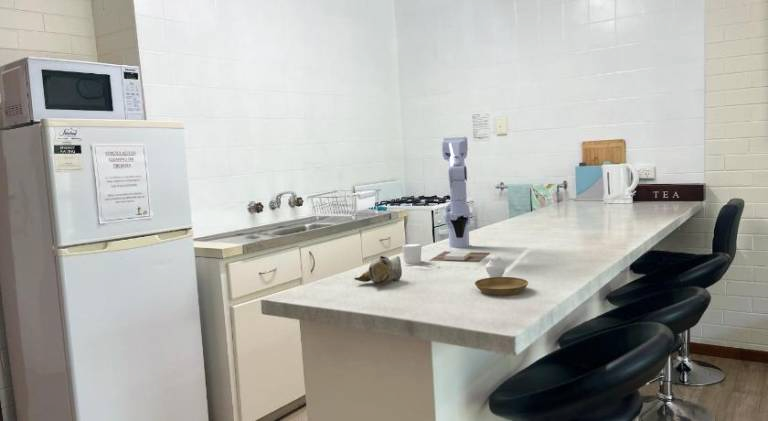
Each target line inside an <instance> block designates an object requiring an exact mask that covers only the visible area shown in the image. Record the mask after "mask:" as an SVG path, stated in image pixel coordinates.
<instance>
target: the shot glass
mask: <svg viewBox="0 0 768 421" xmlns="http://www.w3.org/2000/svg"><path fill="white" fill-rule="evenodd" d="M422 245H423V244H421V243H406V244H402V245H401V247H402V248H401V249H402V254H403V262H404V264H407V265H405V267H412V265H411V264H420V263H421V262H422ZM409 264H410V265H409Z"/></svg>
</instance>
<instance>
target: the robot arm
mask: <svg viewBox="0 0 768 421" xmlns="http://www.w3.org/2000/svg"><path fill="white" fill-rule="evenodd" d="M441 148H442V150H441V151H442V157H443V160H445V161H447V162H448V170H447V172H448V176H447V177H448V183H449V188H450V189H449V197H450V198H449V199H450V202H449V203H447V204H445V207H444V221H445V222H444V224H445V226H446V227H448V244H449V245H448V246H449V248H452V249H459V248H460V249H461V248H466V247H472V244H470V231H469V228H468V226H469V225H470V224H471V211H470V206H469V205H468V203H467V202H468V201H467V200H468V199H467V183H466V182H467V181H468V169H467V165H466V164H465V159H467V156H468V150H469V148H468V137H467V136H458V137H457V136H456V137H442V139H441Z"/></svg>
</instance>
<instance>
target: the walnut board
mask: <svg viewBox="0 0 768 421" xmlns="http://www.w3.org/2000/svg"><path fill="white" fill-rule="evenodd" d="M450 252H451V251H446V250H445V251H443V252H441V253H439V254H438V255H436V256H434V257H432V258H431V259H429V260H428V261H429V262H451V261H450V260H445V255H447V254H448V253H450ZM470 252H471V256H470V257H469V258H467V259H466V260H464V261H452V262H456V263H459V262H461V263H480V262H481V261H483V260H484V259H485V258H486V257H487V256H489V255H490V254H491V252H481V251H480V252H478V251H470Z"/></svg>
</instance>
